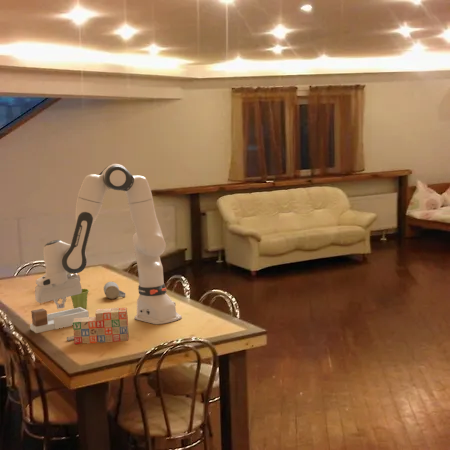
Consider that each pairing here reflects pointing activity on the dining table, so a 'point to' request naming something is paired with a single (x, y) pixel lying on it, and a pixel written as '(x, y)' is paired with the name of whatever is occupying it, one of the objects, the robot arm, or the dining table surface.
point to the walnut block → (39, 317)
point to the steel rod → (70, 338)
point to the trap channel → (60, 319)
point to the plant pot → (80, 299)
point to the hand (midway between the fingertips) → (60, 308)
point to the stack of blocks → (102, 326)
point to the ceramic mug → (112, 290)
